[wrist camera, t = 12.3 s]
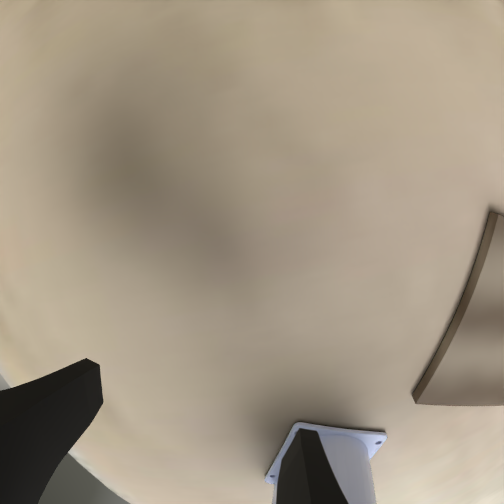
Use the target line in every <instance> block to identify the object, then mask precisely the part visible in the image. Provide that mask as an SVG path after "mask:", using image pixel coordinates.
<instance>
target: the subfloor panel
mask: <svg viewBox="0 0 504 504" xmlns="http://www.w3.org/2000/svg"><path fill="white" fill-rule="evenodd" d="M412 397H413V399H414V401H415V404H426V405H445V406H501V405H504V217H503V216H501V215H499V214H496V213H492V212H490V214H489V218H488V222H487V225H486V229H485V233H484V236H483V240H482V243H481V246H480V249H479V253H478V256H477V259H476V262H475V265H474V268H473V270H472V273H471V276H470V279H469V281H468V284H467V287H466V289H465V292H464V294H463V297H462V299H461V302H460V304H459V306H458V309H457V311H456V313H455V316H454V318H453V320H452V322H451V324H450V327H449V329H448V331H447V333H446V335H445V337H444V339H443V341H442V343H441V345H440V347H439V349H438V351H437V353H436V355H435V357H434V358H433V360H432V362H431V364H430V366H429V368H428V369H427V371H426V373H425V375H424V376H423V378H422V380H421V381H420V383H419V385H418V386H417V388H416V390H415V391H414V393H413V395H412Z"/></svg>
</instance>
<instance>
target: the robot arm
mask: <svg viewBox="0 0 504 504" xmlns="http://www.w3.org/2000/svg"><path fill="white" fill-rule="evenodd" d="M102 404H103V395H102V386H101V376H100V365H99V364H97V363H95V362H93V361H91V360H89V359H87V358H86V359H83V360H81V361H78V362H76V363H74V364H72V365H69V366H67V367H65V368H63V369H60V370H58V371H56V372H53V373H51V374H49V375H46V376H44V377H41V378H39V379H36V380H34V381H31V382H28V383H25V384H22V385H19V386H16V387H13V388H10V389H6V390H2V391H0V504H38V501H39V499H40V497H41V495H42V493H43V491H44V489H45V487H46V485H47V483H48V481H49V480H50V478H51V476H52V475H53V473H54V471H55V469H56V468H57V466H58V464H59V463H60V462H61V460H62V459H63V457H64V456H65V455H66V454H67V453H68V451H69V450H70V449H71V448H72V446H73V445H74V444H75V443H76V441H77V440H78V439H79V438H80V436H81V435H82V434H83V433H84V431H85V430H86V429H87V428H88V426H89V425H90V424H91V422H92V421H93V419H94V418H95V416H96V414H97V413H98V411H99V409H100V407H101V406H102ZM386 439H387V434H386V433H384V432H373V431H361V430H352V429H343V428H335V427H328V426H321V425H315V424H308V423H303V422H298V423H295V424H294V425H293V427H292V429H291V431H290V433H289V435H288V437H287V439H286V441H285V442H284V444H283V446H282V448H281V450H280V452H279V454H278V455H277V457H276V459H275V461H274V463H273V464H272V466H271V468H270V470H269V471H268V473H267V475H266V477H265V482H267V483H270V484H274V492H273V500H272V504H376V496H375V490H374V483H373V477H372V471H371V465H370V459H371V458H372V457H373V455H374V454H375V453H376V452H377V451H378V449H379V448H380V447H381V445H382V444H383V443H384V442H385V440H386Z"/></svg>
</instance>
